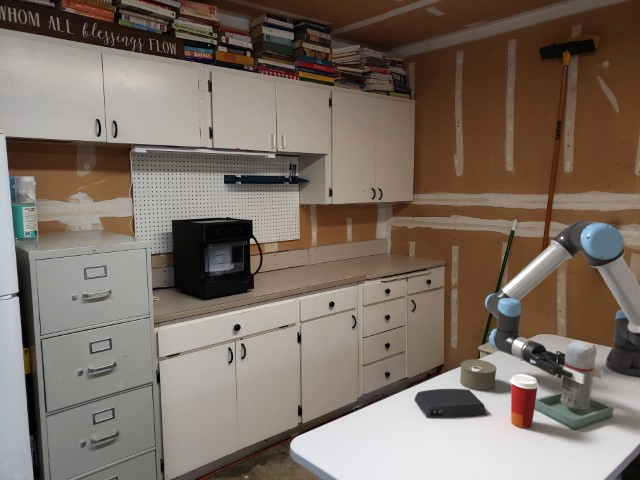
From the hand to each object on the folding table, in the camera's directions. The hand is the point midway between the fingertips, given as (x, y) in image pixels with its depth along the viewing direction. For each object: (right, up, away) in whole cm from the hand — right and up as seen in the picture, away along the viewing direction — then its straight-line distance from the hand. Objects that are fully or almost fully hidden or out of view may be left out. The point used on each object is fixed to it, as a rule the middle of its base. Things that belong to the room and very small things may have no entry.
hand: (592, 377), depth 141 cm
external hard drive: (-41, -13, +8) cm, 43 cm away
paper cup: (-22, -14, -1) cm, 26 cm away
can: (-26, -10, +25) cm, 38 cm away
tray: (-3, -13, +6) cm, 14 cm away
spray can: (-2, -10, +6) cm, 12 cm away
